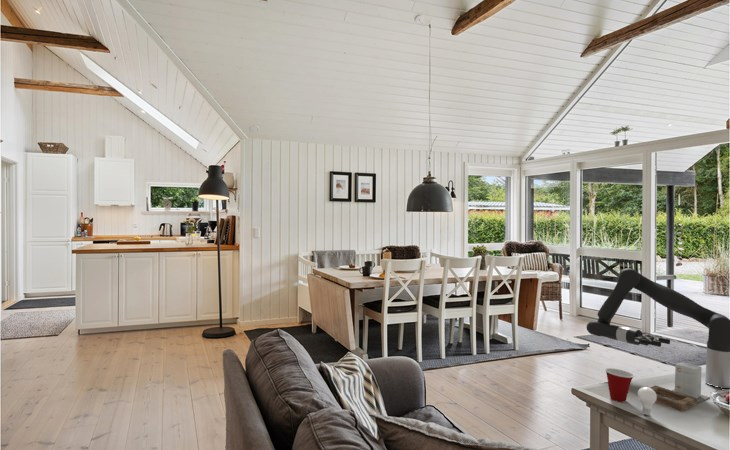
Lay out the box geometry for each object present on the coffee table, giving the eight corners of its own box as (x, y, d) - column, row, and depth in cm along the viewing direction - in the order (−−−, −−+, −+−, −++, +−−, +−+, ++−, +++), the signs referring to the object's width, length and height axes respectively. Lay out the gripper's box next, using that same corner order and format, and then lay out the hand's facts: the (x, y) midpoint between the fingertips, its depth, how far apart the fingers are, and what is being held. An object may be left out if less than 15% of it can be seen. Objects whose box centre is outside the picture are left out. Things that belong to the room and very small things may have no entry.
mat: (678, 388, 202) (678, 387, 202) (709, 398, 192) (710, 397, 192) (666, 393, 196) (666, 392, 196) (697, 403, 186) (697, 402, 186)
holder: (655, 390, 199) (655, 385, 199) (696, 404, 185) (696, 398, 185) (639, 396, 191) (639, 391, 191) (681, 411, 178) (681, 405, 178)
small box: (700, 396, 193) (702, 366, 193) (695, 399, 189) (697, 369, 189) (679, 390, 199) (680, 361, 199) (674, 393, 195) (675, 364, 195)
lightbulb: (638, 410, 178) (639, 383, 177) (657, 415, 174) (658, 387, 173) (635, 415, 173) (636, 387, 172) (654, 420, 169) (656, 392, 168)
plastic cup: (639, 403, 185) (640, 374, 184) (619, 405, 181) (620, 377, 181) (617, 393, 195) (618, 366, 195) (598, 395, 192) (599, 368, 191)
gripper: (621, 329, 214) (657, 337, 200) (636, 326, 222) (672, 333, 208) (621, 345, 214) (657, 353, 200) (636, 341, 222) (672, 349, 208)
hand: (665, 343), depth 204 cm, fingers open, 8 cm apart
